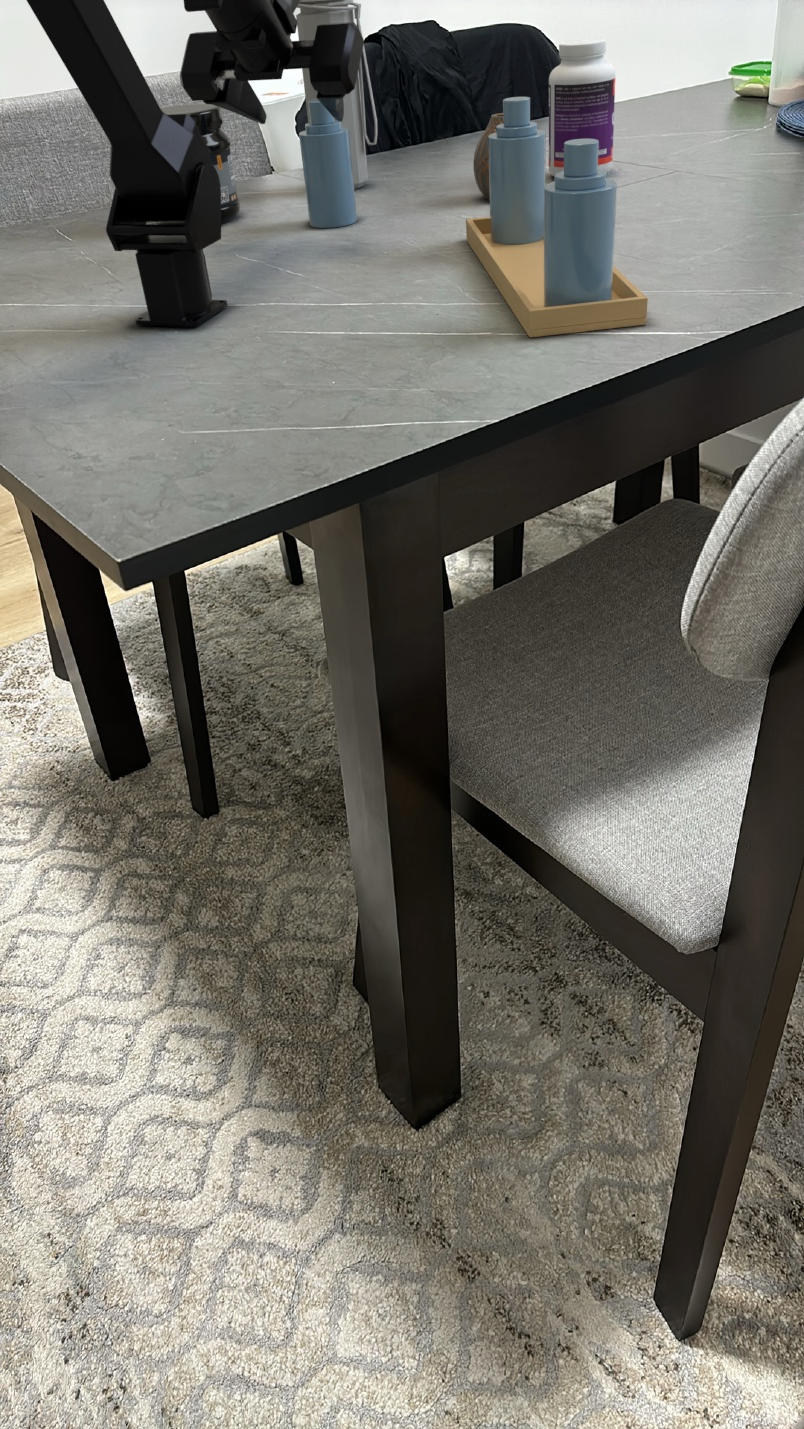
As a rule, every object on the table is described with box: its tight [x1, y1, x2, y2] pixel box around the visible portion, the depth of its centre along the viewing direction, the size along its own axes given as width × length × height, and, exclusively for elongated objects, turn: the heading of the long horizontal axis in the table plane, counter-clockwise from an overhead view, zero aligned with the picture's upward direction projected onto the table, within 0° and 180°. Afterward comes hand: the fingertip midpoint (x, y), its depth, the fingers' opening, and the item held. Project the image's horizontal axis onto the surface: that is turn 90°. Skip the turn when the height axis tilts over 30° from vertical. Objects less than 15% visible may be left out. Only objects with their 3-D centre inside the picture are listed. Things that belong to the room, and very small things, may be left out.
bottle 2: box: [543, 139, 618, 307], centre depth 82 cm, size 6×6×12 cm
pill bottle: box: [548, 38, 616, 177], centre depth 128 cm, size 8×8×14 cm
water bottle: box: [295, 0, 378, 190], centre depth 130 cm, size 9×8×25 cm
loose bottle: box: [298, 99, 358, 229], centre depth 118 cm, size 6×6×12 cm
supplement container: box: [158, 103, 241, 224], centre depth 125 cm, size 10×10×12 cm
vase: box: [473, 112, 503, 201], centre depth 123 cm, size 7×7×9 cm
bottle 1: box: [488, 96, 547, 245], centre depth 103 cm, size 6×6×12 cm
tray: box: [465, 216, 649, 338], centre depth 96 cm, size 34×10×2 cm, turn 6°
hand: (302, 118), depth 111 cm, fingers open, 9 cm apart
